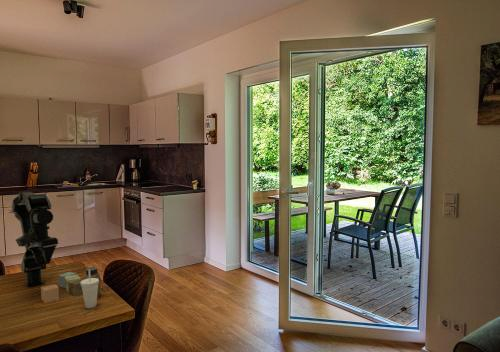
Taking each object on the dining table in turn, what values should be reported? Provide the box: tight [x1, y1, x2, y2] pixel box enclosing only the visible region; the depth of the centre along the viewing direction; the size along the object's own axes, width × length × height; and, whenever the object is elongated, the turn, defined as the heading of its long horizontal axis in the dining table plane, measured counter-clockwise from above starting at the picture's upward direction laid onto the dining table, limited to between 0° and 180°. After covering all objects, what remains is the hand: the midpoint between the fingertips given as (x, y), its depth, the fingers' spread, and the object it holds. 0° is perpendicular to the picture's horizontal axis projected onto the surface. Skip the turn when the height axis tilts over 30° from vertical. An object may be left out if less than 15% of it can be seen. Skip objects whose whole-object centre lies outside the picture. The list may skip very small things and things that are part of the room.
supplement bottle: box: [83, 266, 102, 298], centre depth 147 cm, size 6×6×11 cm
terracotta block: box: [40, 283, 60, 304], centre depth 145 cm, size 5×5×5 cm
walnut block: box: [68, 277, 84, 297], centre depth 151 cm, size 5×5×5 cm
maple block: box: [65, 274, 81, 293], centre depth 155 cm, size 5×5×5 cm
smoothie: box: [80, 270, 99, 309], centre depth 137 cm, size 6×6×14 cm
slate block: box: [58, 271, 78, 289], centre depth 159 cm, size 5×5×5 cm
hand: (43, 263), depth 149 cm, fingers open, 9 cm apart
